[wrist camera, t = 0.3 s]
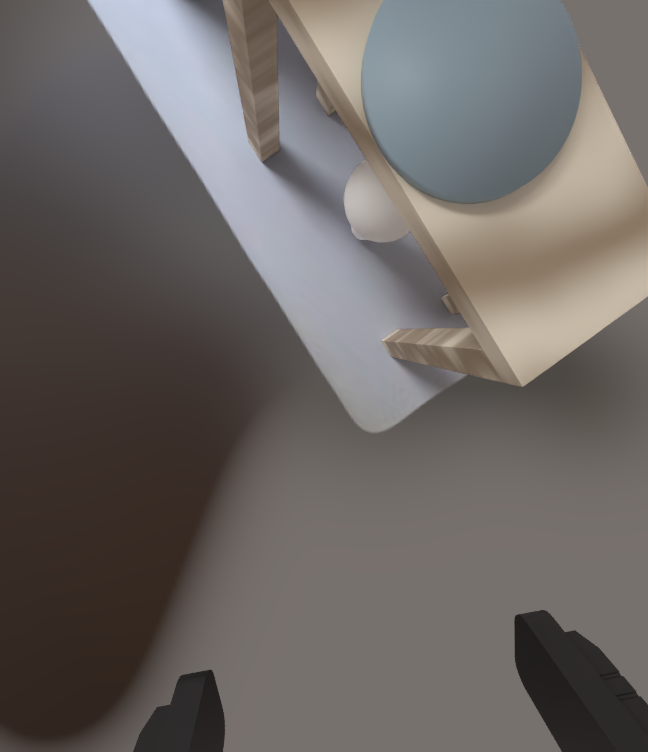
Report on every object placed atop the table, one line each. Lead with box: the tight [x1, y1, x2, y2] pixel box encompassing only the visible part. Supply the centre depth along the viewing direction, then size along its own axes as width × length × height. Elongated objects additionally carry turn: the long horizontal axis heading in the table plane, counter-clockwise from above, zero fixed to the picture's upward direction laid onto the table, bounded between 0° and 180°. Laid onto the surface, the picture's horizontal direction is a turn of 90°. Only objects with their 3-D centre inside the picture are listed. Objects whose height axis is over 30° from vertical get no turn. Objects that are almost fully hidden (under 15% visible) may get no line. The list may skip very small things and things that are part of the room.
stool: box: [223, 0, 648, 387], centre depth 25 cm, size 24×10×21 cm, turn 35°
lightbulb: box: [344, 159, 410, 243], centre depth 30 cm, size 6×6×11 cm
